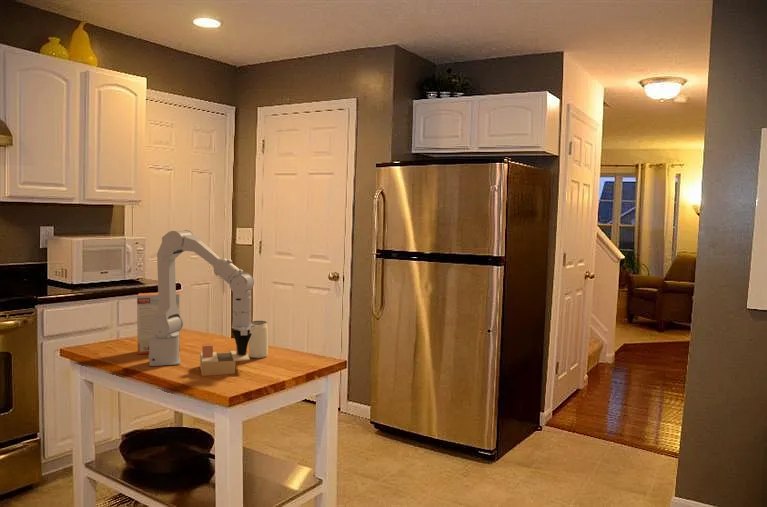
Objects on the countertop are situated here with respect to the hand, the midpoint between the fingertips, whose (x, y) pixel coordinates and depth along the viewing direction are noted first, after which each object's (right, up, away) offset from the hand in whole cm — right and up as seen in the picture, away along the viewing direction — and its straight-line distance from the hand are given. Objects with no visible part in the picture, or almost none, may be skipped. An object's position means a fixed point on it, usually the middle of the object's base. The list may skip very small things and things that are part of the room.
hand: (241, 353), depth 195 cm
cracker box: (-34, -3, +20) cm, 40 cm away
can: (+2, -4, +17) cm, 17 cm away
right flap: (0, -1, 0) cm, 1 cm away
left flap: (-9, -1, -3) cm, 10 cm away
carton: (-7, -5, -2) cm, 9 cm away
